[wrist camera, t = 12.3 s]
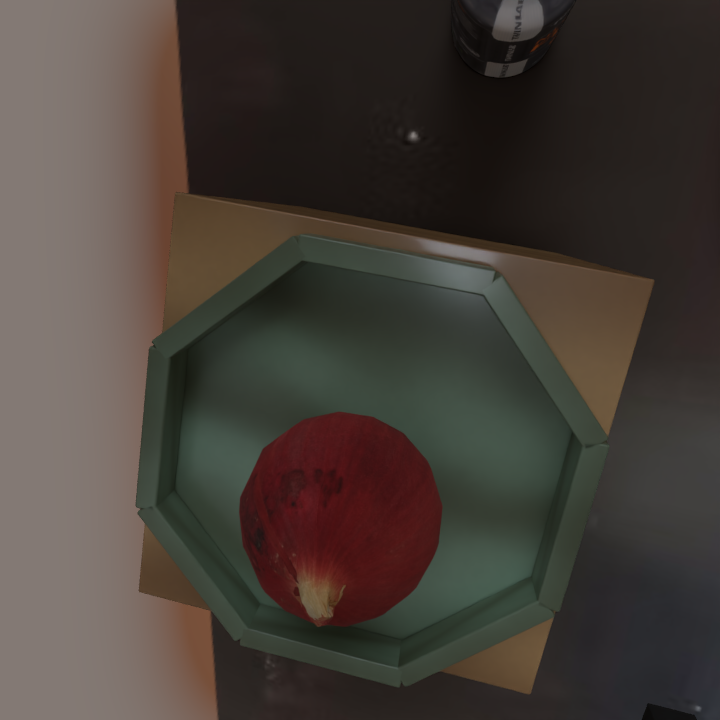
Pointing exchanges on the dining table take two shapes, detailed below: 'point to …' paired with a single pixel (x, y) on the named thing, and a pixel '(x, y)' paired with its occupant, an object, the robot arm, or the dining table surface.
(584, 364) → the stand
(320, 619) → the onion
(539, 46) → the pill bottle
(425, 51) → the dining table surface
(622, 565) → the dining table surface
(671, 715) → the robot arm
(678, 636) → the dining table surface
